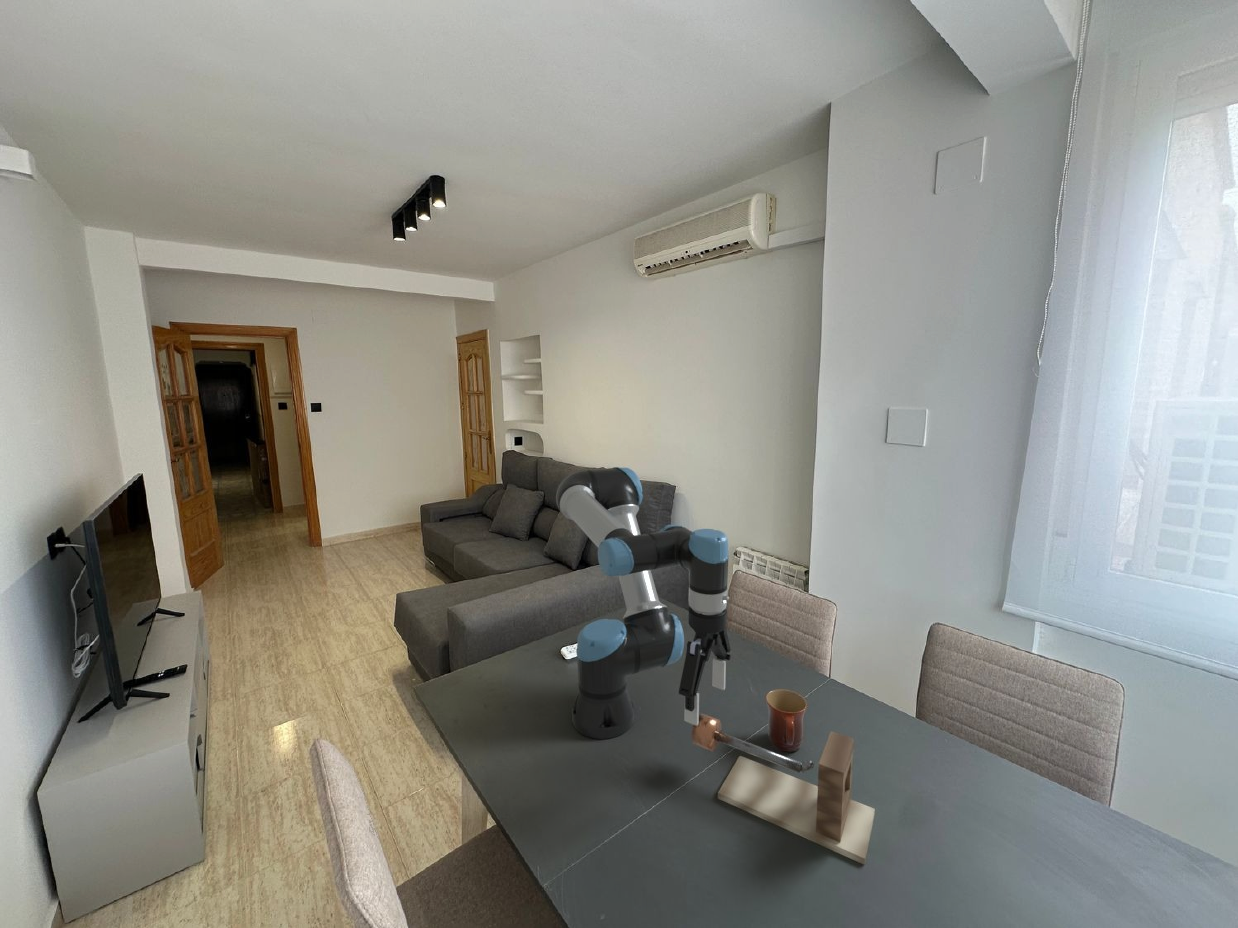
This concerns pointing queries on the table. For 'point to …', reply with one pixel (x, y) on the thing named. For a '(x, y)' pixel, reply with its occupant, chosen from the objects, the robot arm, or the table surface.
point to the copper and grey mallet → (739, 744)
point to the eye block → (834, 786)
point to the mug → (785, 719)
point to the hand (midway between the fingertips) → (705, 704)
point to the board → (794, 806)
